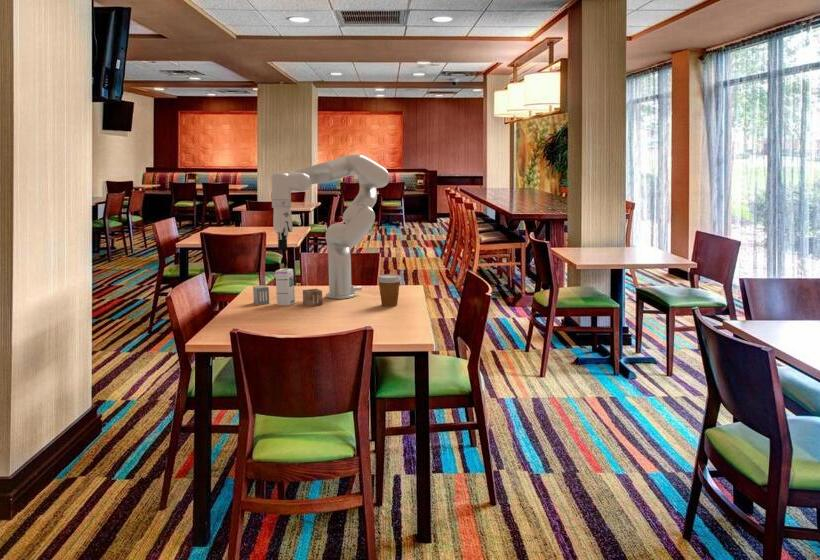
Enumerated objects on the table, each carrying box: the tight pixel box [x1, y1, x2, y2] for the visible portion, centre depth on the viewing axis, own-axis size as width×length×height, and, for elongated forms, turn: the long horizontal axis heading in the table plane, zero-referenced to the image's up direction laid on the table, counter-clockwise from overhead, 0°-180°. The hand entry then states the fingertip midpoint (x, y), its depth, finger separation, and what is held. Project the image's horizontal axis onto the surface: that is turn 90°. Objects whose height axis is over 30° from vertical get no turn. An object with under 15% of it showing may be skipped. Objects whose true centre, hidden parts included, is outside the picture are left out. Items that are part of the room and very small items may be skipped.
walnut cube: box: [302, 288, 323, 308], centre depth 296 cm, size 6×6×6 cm
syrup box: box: [274, 268, 296, 307], centre depth 297 cm, size 6×6×14 cm
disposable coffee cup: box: [376, 273, 402, 307], centre depth 292 cm, size 10×10×12 cm
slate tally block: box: [252, 285, 270, 306], centre depth 299 cm, size 5×5×7 cm
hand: (282, 249), depth 294 cm, fingers closed
